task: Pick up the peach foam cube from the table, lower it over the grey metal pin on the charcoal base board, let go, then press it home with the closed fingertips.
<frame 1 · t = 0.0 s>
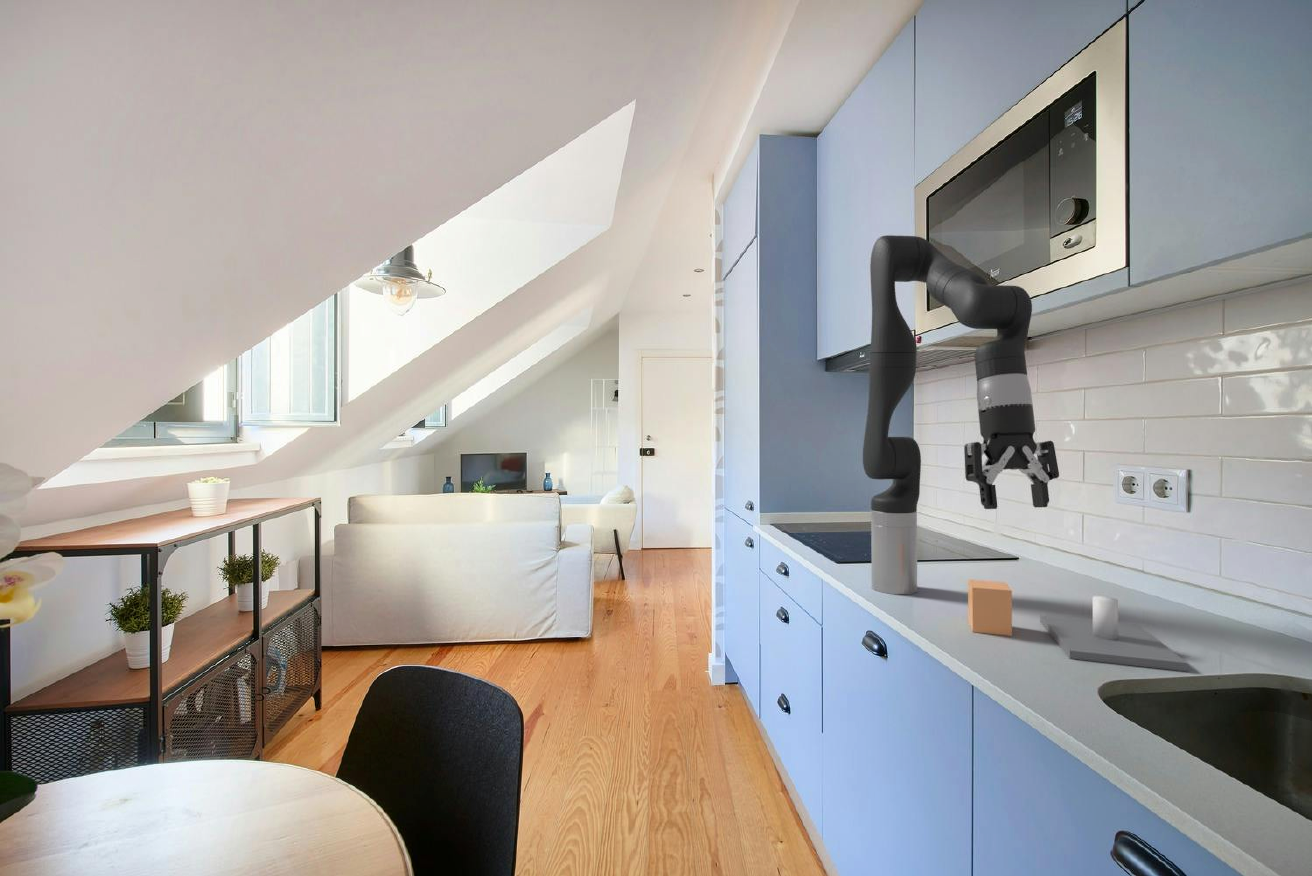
hand: (1015, 508, 91), 22 cm above the countertop, tool pointing down, fingers open, 8 cm apart
peach foam cube: (989, 628, 101), on the countertop
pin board: (1105, 643, 93), on the countertop
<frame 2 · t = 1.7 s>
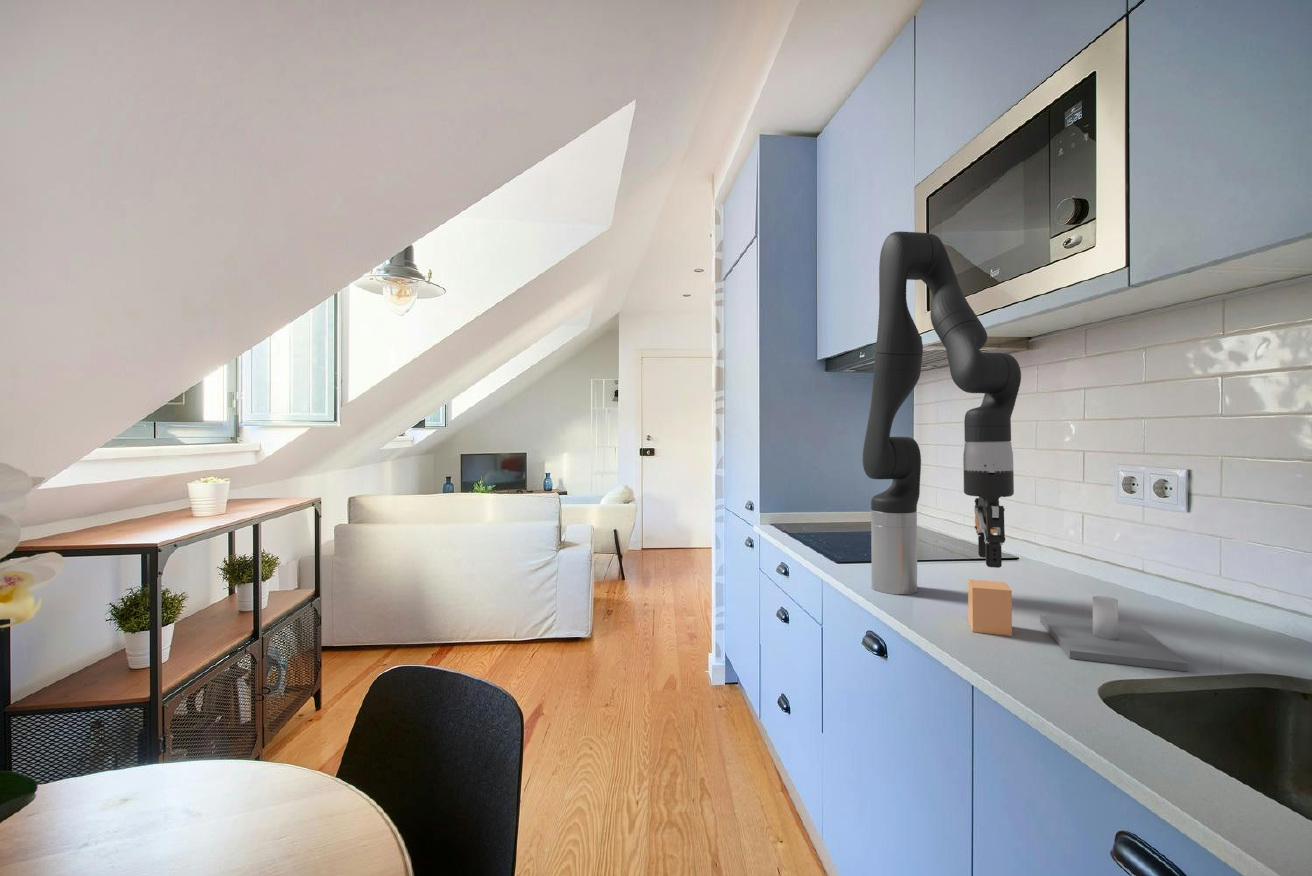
hand: (989, 562, 101), 12 cm above the countertop, tool pointing down, fingers open, 8 cm apart
nothing on the countertop moved.
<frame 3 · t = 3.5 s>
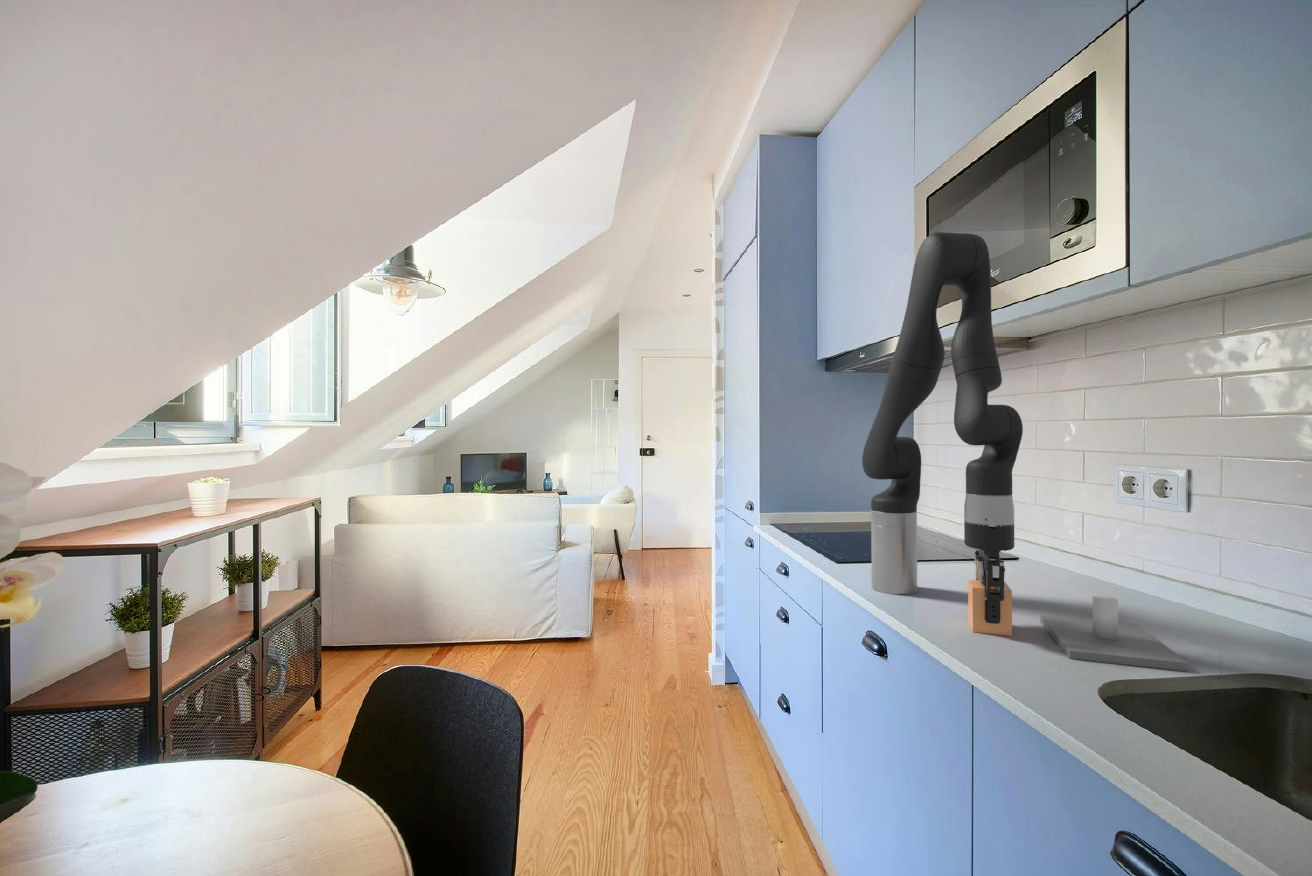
hand: (989, 616, 101), 2 cm above the countertop, tool pointing down, fingers closed on peach foam cube, 5 cm apart
peach foam cube: (989, 628, 101), on the countertop, touching gripper
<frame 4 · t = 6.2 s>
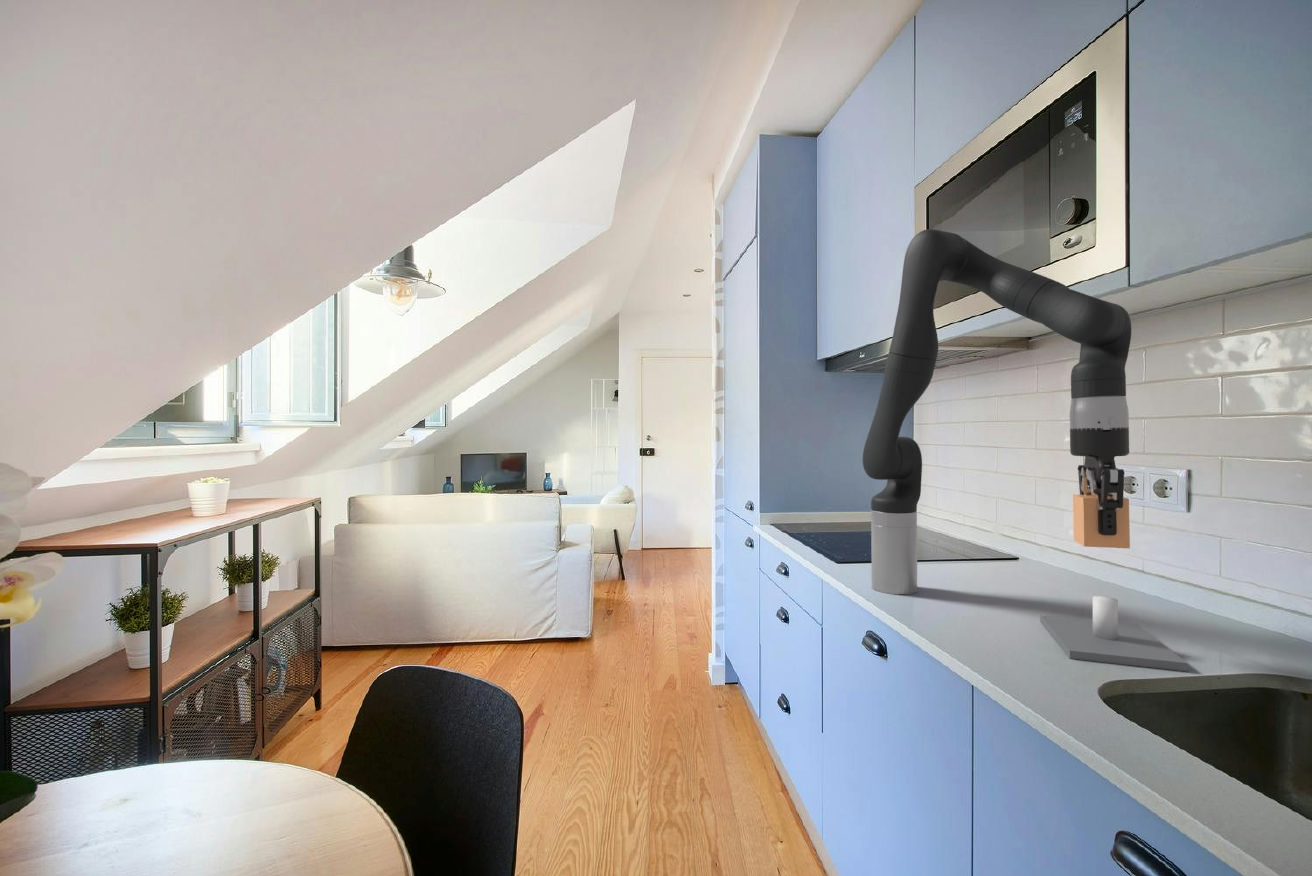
hand: (1100, 531, 93), 18 cm above the countertop, tool pointing down, fingers closed on peach foam cube, 5 cm apart
peach foam cube: (1100, 544, 93), point 16 cm above the countertop, touching gripper
when the fingers open (5 cm above the countertop, at t = 9.2 s): peach foam cube drops 2 cm, resting on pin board.
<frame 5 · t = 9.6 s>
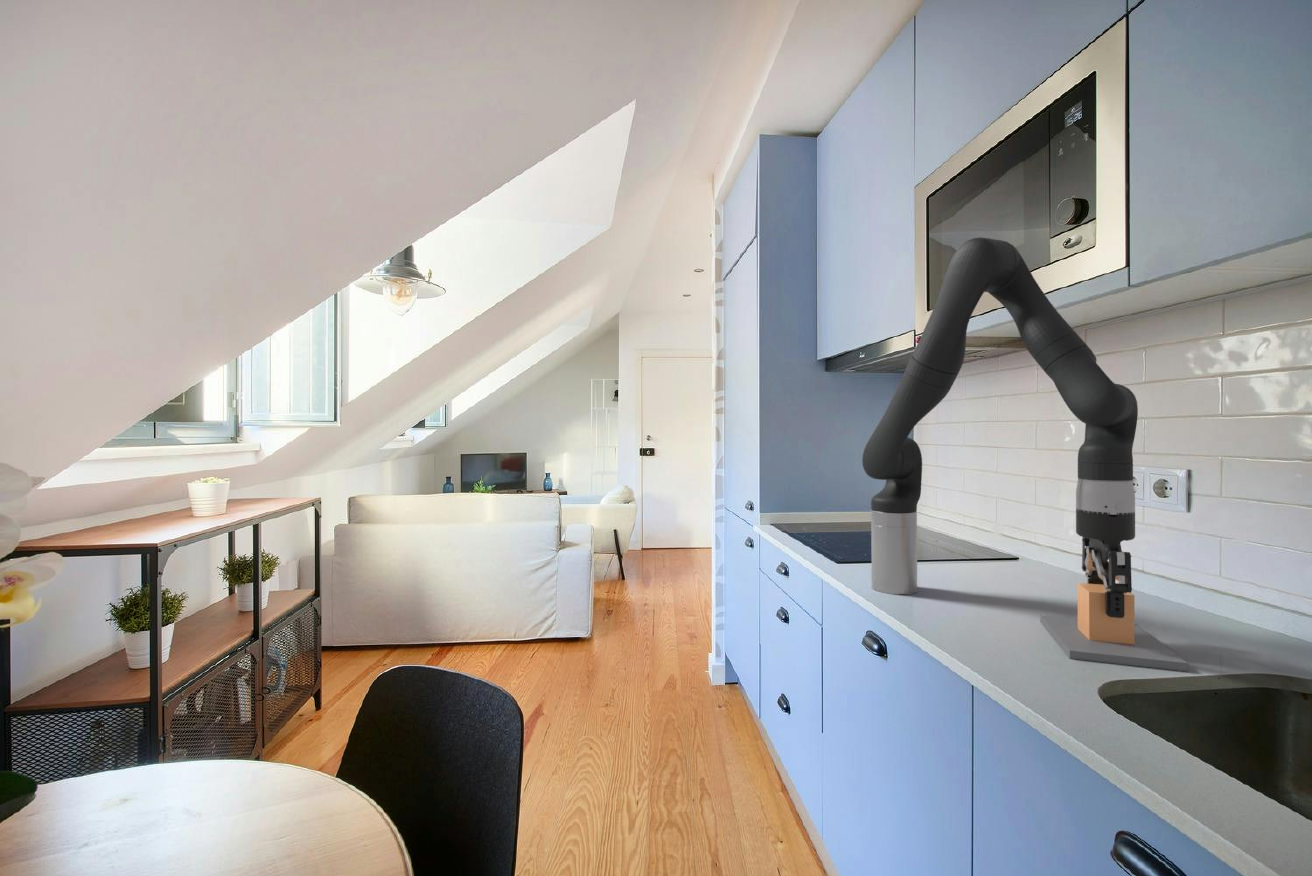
hand: (1105, 608, 93), 6 cm above the countertop, tool pointing down, fingers open, 8 cm apart
peach foam cube: (1104, 636, 94), point 1 cm above the countertop, touching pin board
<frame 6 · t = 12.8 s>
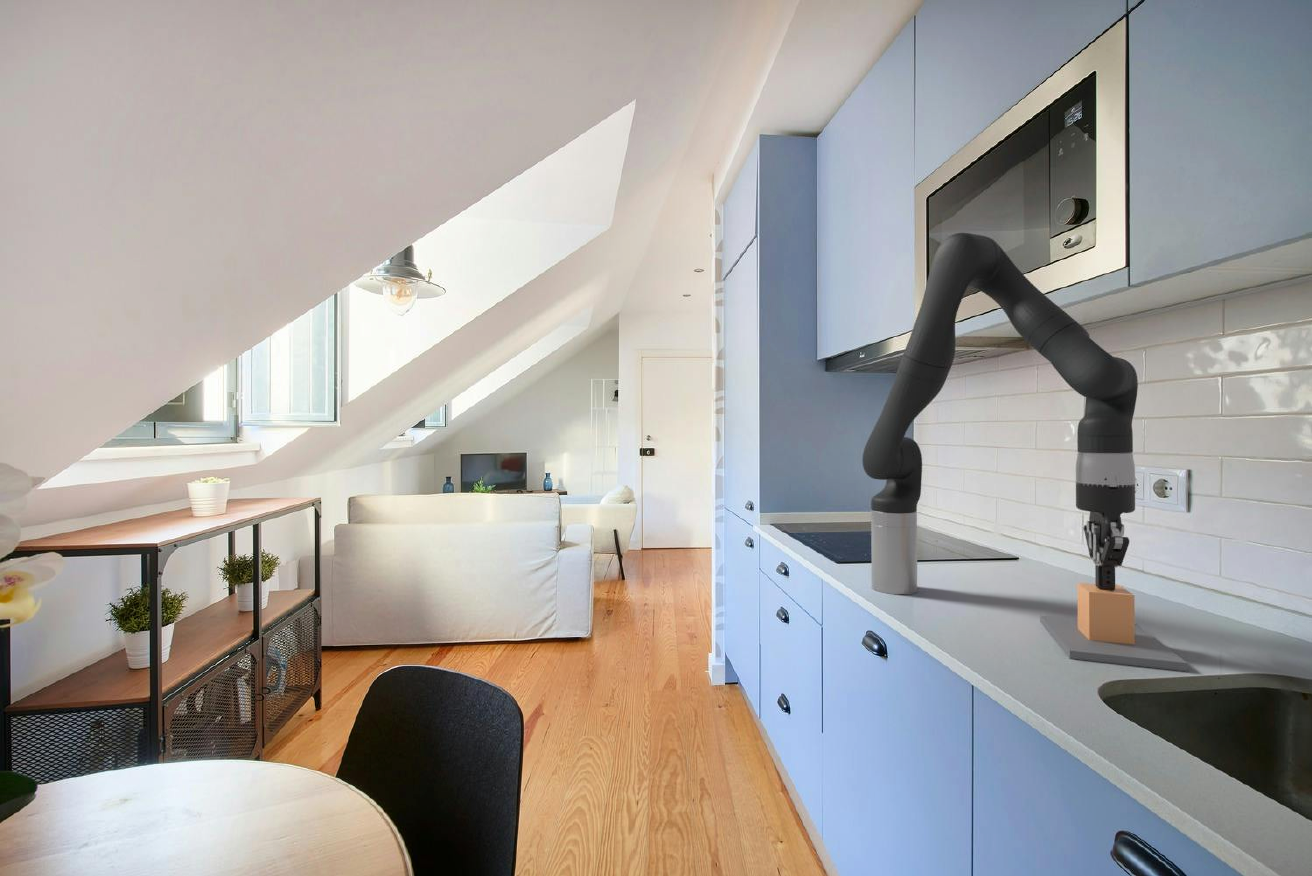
hand: (1105, 589, 93), 9 cm above the countertop, tool pointing down, fingers closed
peach foam cube: (1104, 636, 94), point 1 cm above the countertop, touching gripper, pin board
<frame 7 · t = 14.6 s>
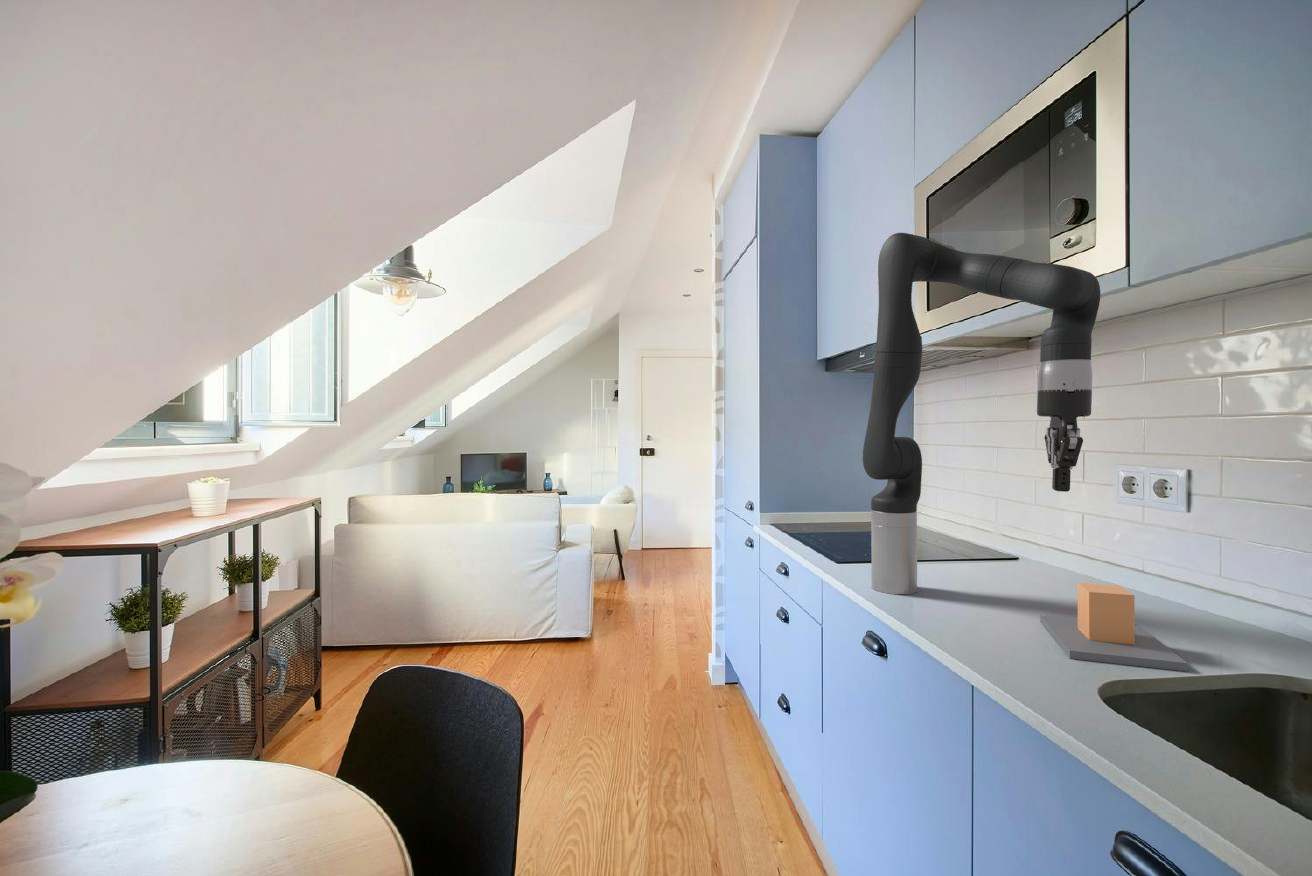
hand: (1061, 490, 99), 24 cm above the countertop, tool pointing down, fingers closed
peach foam cube: (1104, 636, 94), point 1 cm above the countertop, touching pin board
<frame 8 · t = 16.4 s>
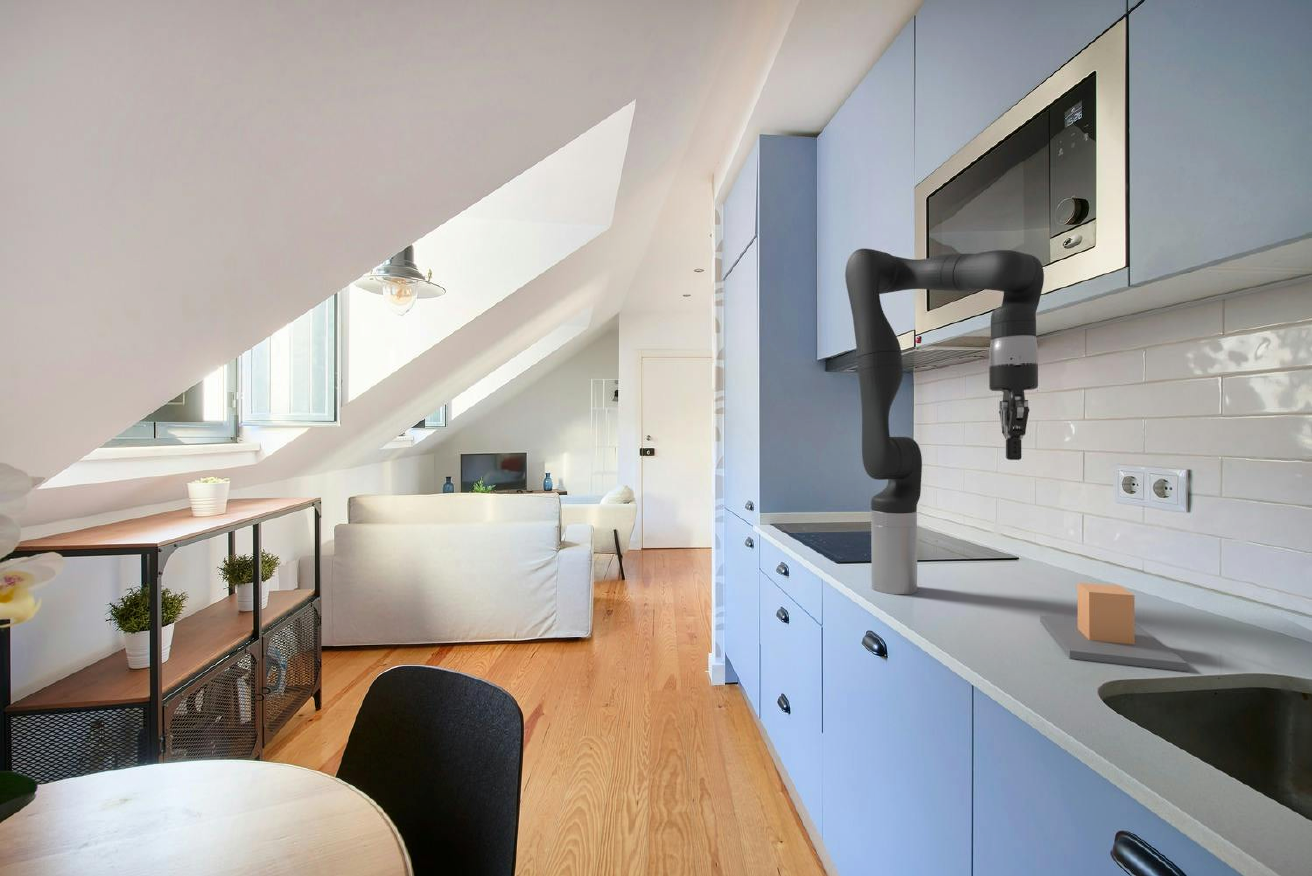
hand: (1013, 459, 106), 29 cm above the countertop, tool pointing down, fingers closed
nothing on the countertop moved.
at the end: peach foam cube 0.1 cm from the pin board (horizontally); peach foam cube point 1.2 cm above the countertop; peach foam cube tilted 0° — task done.
